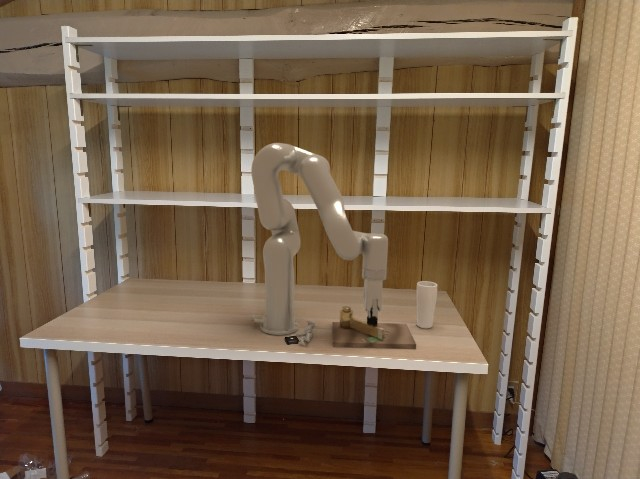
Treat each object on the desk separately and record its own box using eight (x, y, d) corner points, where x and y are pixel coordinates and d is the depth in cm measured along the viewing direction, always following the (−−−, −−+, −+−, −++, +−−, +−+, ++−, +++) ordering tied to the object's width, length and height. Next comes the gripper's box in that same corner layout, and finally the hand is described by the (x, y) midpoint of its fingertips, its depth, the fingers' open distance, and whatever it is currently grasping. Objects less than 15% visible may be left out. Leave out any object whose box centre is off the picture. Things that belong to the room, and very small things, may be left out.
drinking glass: (420, 321, 163) (422, 279, 160) (438, 325, 158) (441, 283, 156) (410, 326, 157) (413, 283, 155) (429, 331, 153) (432, 287, 150)
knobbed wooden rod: (336, 325, 152) (337, 307, 151) (345, 322, 155) (346, 304, 154) (378, 341, 140) (379, 322, 138) (387, 338, 143) (388, 318, 141)
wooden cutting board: (332, 347, 140) (333, 341, 139) (332, 326, 156) (332, 321, 156) (416, 349, 139) (416, 343, 139) (406, 327, 156) (406, 323, 156)
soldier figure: (291, 348, 141) (294, 322, 151) (302, 357, 142) (305, 331, 153) (308, 334, 138) (310, 309, 148) (320, 343, 139) (321, 318, 150)
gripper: (360, 267, 152) (358, 320, 155) (364, 279, 137) (362, 338, 140) (383, 267, 152) (380, 320, 155) (389, 280, 137) (386, 338, 140)
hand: (371, 328), depth 148 cm, fingers closed
